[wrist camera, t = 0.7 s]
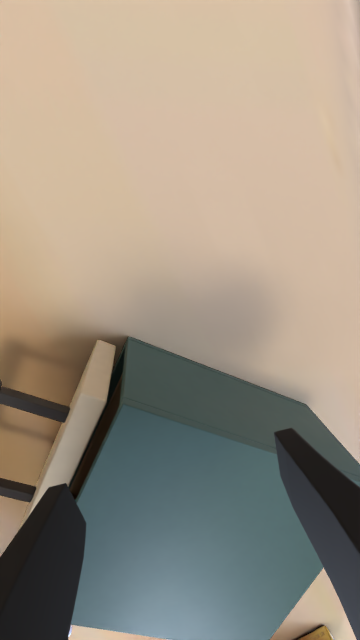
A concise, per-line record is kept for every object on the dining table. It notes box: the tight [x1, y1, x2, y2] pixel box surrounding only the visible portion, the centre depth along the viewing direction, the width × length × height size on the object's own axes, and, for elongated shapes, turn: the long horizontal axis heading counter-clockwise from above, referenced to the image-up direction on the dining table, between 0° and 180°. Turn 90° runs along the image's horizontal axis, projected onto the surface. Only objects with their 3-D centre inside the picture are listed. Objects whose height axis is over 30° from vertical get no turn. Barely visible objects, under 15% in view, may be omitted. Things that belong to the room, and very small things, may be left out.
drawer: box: [0, 340, 123, 531], centre depth 19 cm, size 18×12×6 cm, turn 64°
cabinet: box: [68, 337, 360, 640], centre depth 20 cm, size 14×13×8 cm
